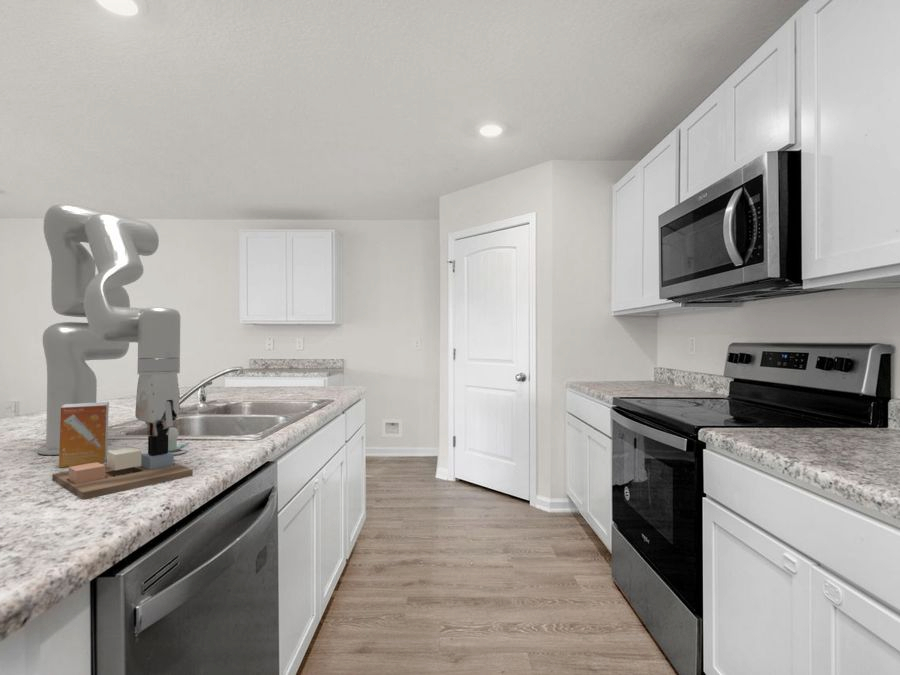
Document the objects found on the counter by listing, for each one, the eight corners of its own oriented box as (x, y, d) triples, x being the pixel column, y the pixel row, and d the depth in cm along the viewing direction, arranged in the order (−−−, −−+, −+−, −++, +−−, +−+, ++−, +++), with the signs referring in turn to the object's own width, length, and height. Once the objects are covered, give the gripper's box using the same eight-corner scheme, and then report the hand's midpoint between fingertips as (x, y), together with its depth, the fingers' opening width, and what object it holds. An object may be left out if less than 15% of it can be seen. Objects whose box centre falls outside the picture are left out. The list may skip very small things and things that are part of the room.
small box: (58, 468, 97) (59, 407, 97) (63, 461, 102) (64, 403, 102) (106, 463, 101) (107, 404, 102) (108, 457, 107) (109, 401, 107)
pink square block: (68, 483, 86) (68, 466, 86) (97, 477, 89) (97, 462, 89) (76, 487, 83) (76, 471, 83) (105, 481, 86) (105, 465, 86)
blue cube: (141, 468, 95) (141, 454, 95) (164, 464, 99) (164, 450, 99) (150, 472, 93) (150, 457, 93) (173, 467, 96) (173, 453, 96)
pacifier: (186, 456, 109) (189, 449, 115) (187, 430, 109) (189, 425, 114) (150, 459, 106) (154, 452, 112) (150, 432, 106) (155, 427, 111)
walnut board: (52, 480, 89) (52, 473, 89) (155, 461, 103) (155, 455, 103) (82, 499, 78) (83, 492, 78) (192, 475, 93) (192, 469, 93)
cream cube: (106, 466, 90) (107, 451, 90) (132, 461, 94) (132, 447, 94) (115, 470, 88) (115, 454, 88) (141, 465, 91) (141, 450, 91)
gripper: (124, 366, 97) (123, 452, 97) (154, 368, 88) (153, 463, 88) (163, 364, 103) (162, 446, 103) (194, 367, 94) (193, 456, 94)
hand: (158, 454), depth 96 cm, fingers closed
